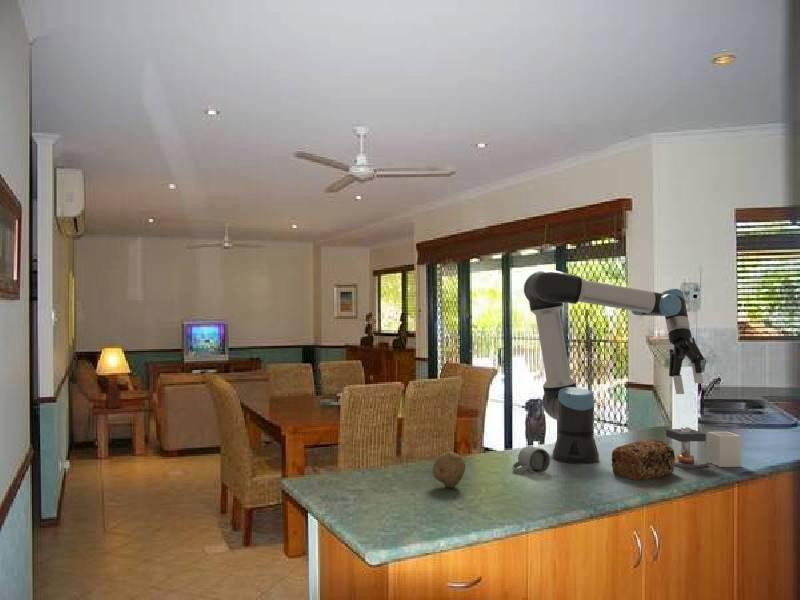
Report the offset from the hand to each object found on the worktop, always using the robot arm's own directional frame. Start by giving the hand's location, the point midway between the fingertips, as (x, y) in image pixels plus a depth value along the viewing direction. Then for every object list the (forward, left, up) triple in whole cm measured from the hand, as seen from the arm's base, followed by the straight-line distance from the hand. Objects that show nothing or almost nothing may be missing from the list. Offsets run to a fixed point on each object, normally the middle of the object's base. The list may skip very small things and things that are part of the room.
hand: (689, 388), depth 233 cm
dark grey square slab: (-10, -7, -15) cm, 20 cm away
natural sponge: (-96, 0, -24) cm, 99 cm away
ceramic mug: (-64, +6, -24) cm, 68 cm away
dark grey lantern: (-10, -7, -24) cm, 27 cm away
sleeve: (+2, -12, -24) cm, 27 cm away
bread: (-34, -12, -24) cm, 43 cm away
